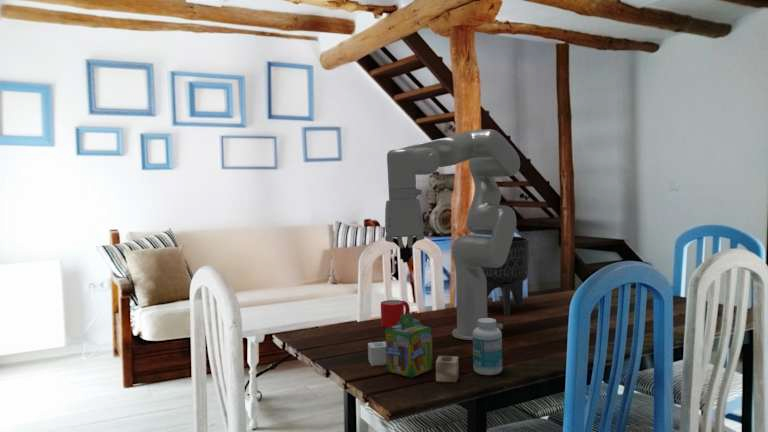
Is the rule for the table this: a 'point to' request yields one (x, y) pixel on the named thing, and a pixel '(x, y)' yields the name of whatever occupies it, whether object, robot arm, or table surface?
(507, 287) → the planter
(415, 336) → the chalk box
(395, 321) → the mug
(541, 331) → the table surface
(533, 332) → the table surface
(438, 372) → the marked block beech
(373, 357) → the marked block white
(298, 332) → the table surface
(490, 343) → the pill bottle
